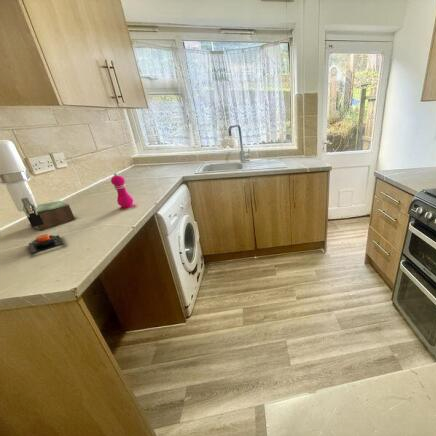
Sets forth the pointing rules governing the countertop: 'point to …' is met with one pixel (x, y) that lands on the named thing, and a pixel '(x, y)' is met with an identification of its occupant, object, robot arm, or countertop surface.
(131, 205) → the pepper mill
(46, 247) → the lock base
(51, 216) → the brown open box
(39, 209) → the frame lid
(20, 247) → the countertop surface
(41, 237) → the lock button
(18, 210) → the robot arm
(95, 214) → the countertop surface
